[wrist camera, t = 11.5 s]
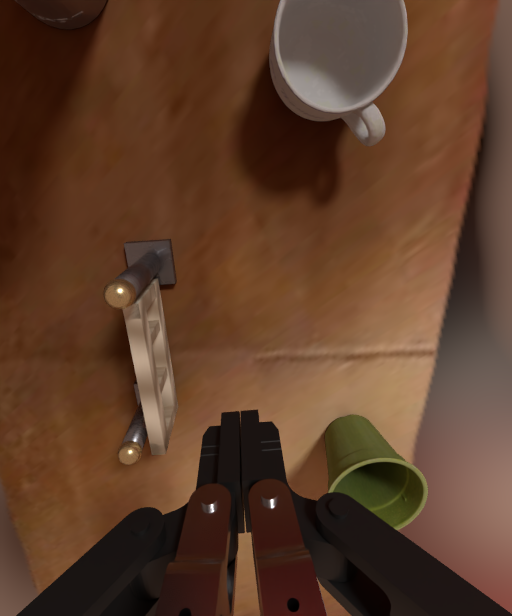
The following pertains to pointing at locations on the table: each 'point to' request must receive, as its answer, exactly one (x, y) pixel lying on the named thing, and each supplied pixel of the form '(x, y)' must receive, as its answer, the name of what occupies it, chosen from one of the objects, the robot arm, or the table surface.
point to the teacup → (338, 59)
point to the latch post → (134, 435)
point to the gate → (152, 365)
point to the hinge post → (141, 271)
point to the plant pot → (373, 471)
